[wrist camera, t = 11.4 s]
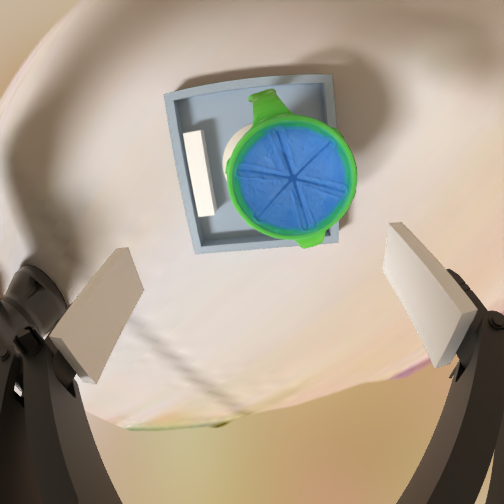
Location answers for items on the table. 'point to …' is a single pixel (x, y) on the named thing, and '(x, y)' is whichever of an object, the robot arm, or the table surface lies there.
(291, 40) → the table surface
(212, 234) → the meal tray
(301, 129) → the snack cup
